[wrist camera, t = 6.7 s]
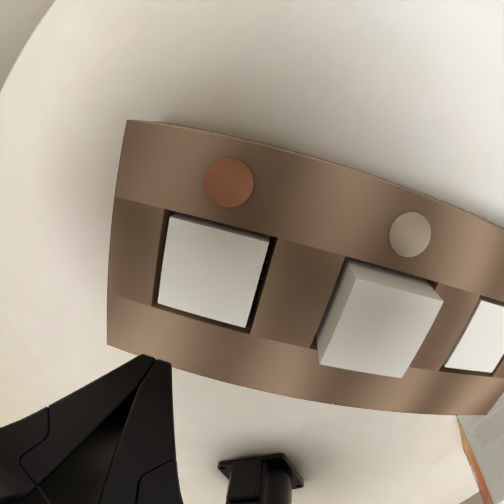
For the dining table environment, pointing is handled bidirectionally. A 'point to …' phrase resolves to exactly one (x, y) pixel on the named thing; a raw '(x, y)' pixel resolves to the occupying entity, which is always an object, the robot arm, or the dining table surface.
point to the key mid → (375, 319)
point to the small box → (486, 450)
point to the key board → (294, 268)
